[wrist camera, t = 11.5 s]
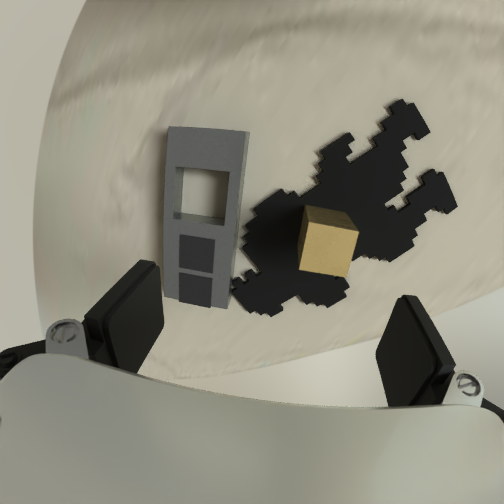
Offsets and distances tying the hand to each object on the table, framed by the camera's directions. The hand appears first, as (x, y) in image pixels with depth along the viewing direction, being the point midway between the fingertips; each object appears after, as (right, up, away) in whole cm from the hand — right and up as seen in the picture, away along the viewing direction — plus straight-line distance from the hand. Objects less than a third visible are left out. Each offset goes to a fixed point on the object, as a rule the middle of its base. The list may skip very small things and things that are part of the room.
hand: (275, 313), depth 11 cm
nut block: (+7, +5, +20) cm, 22 cm away
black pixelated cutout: (+9, +5, +21) cm, 23 cm away
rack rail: (-6, +6, +22) cm, 23 cm away
